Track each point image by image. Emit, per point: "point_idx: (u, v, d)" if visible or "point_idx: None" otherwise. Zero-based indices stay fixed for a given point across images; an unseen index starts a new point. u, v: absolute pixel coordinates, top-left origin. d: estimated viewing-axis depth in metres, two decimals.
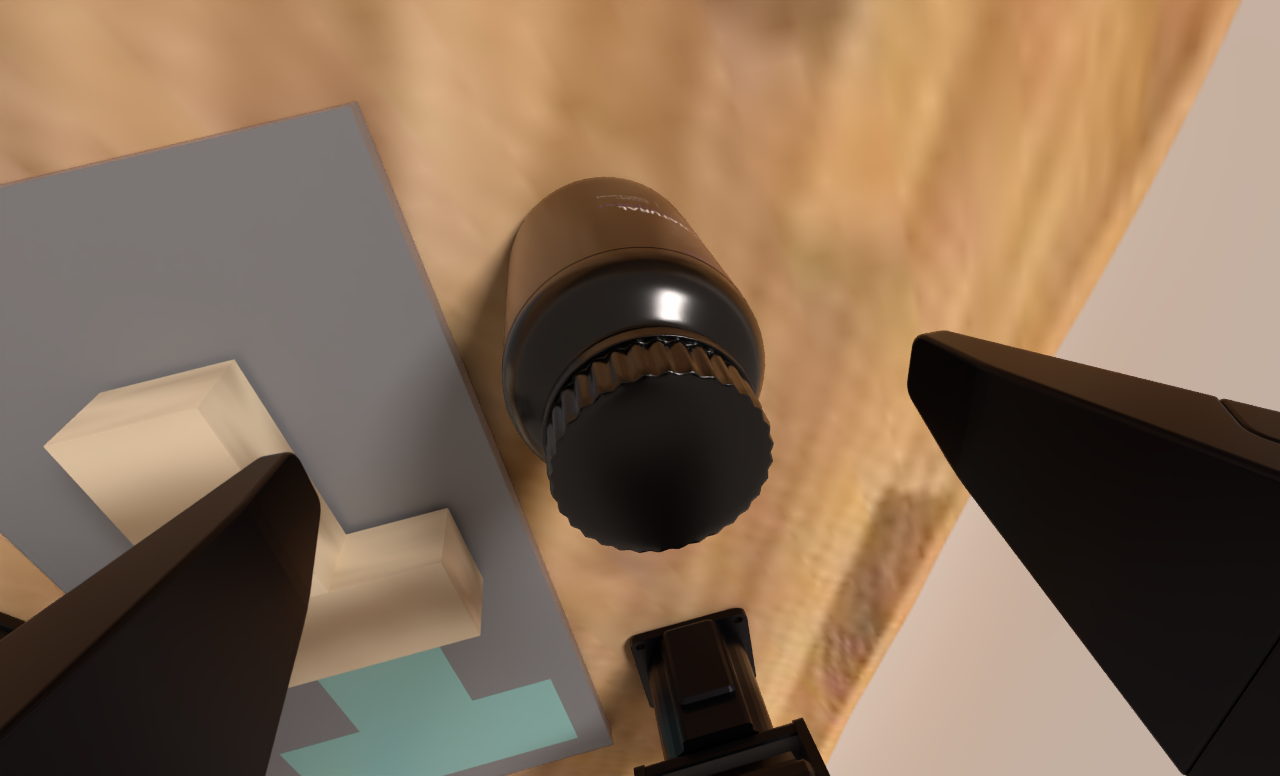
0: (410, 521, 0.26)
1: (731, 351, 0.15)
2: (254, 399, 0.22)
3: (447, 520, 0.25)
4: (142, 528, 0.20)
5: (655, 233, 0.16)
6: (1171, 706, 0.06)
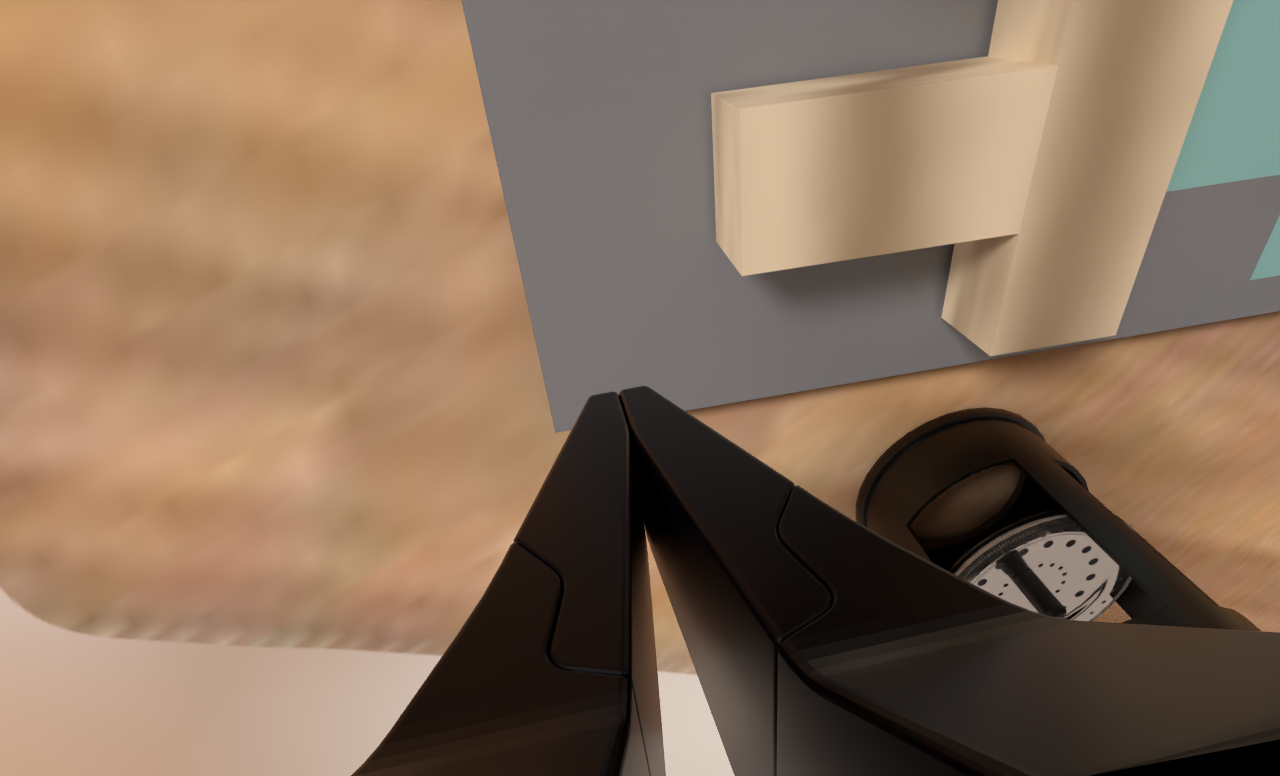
0: None
1: None
2: (762, 87, 0.18)
3: None
4: (865, 236, 0.18)
5: None
6: None
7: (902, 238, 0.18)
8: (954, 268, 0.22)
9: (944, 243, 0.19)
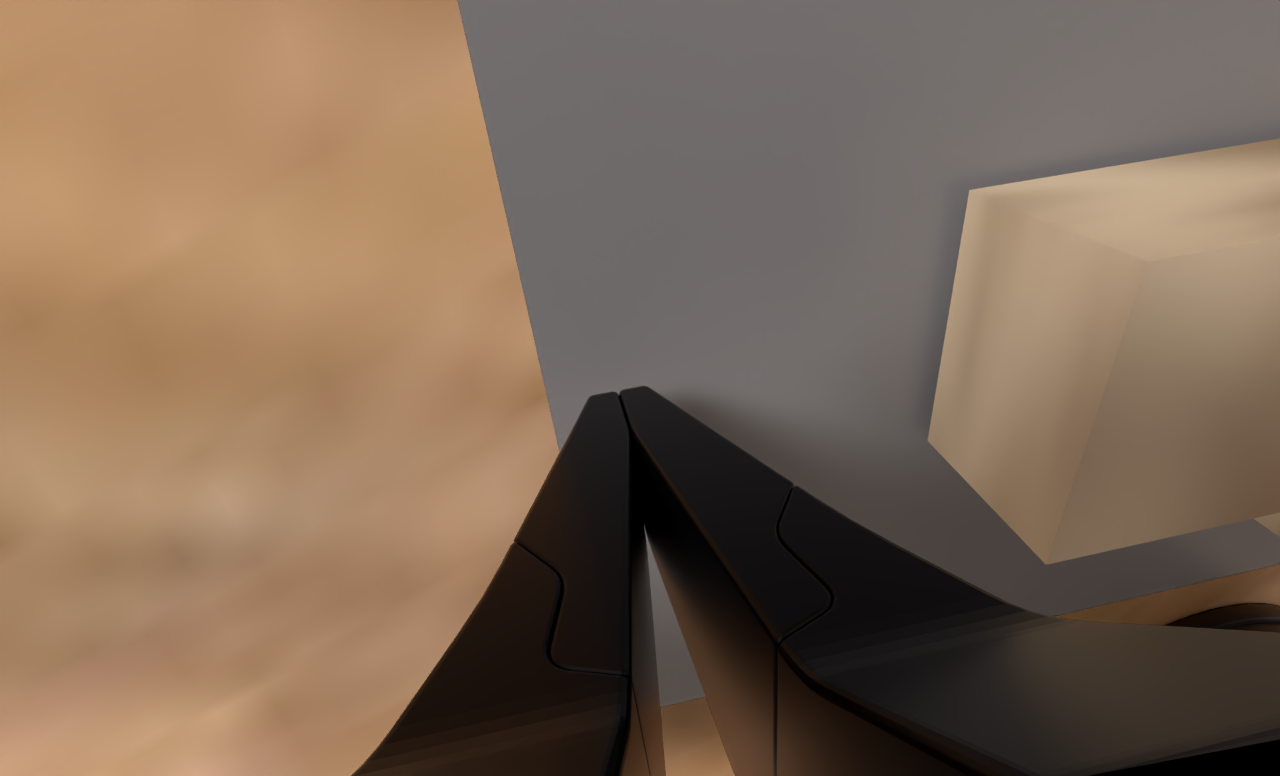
0: None
1: None
2: (1078, 178, 0.09)
3: None
4: None
5: None
6: None
7: None
8: None
9: None
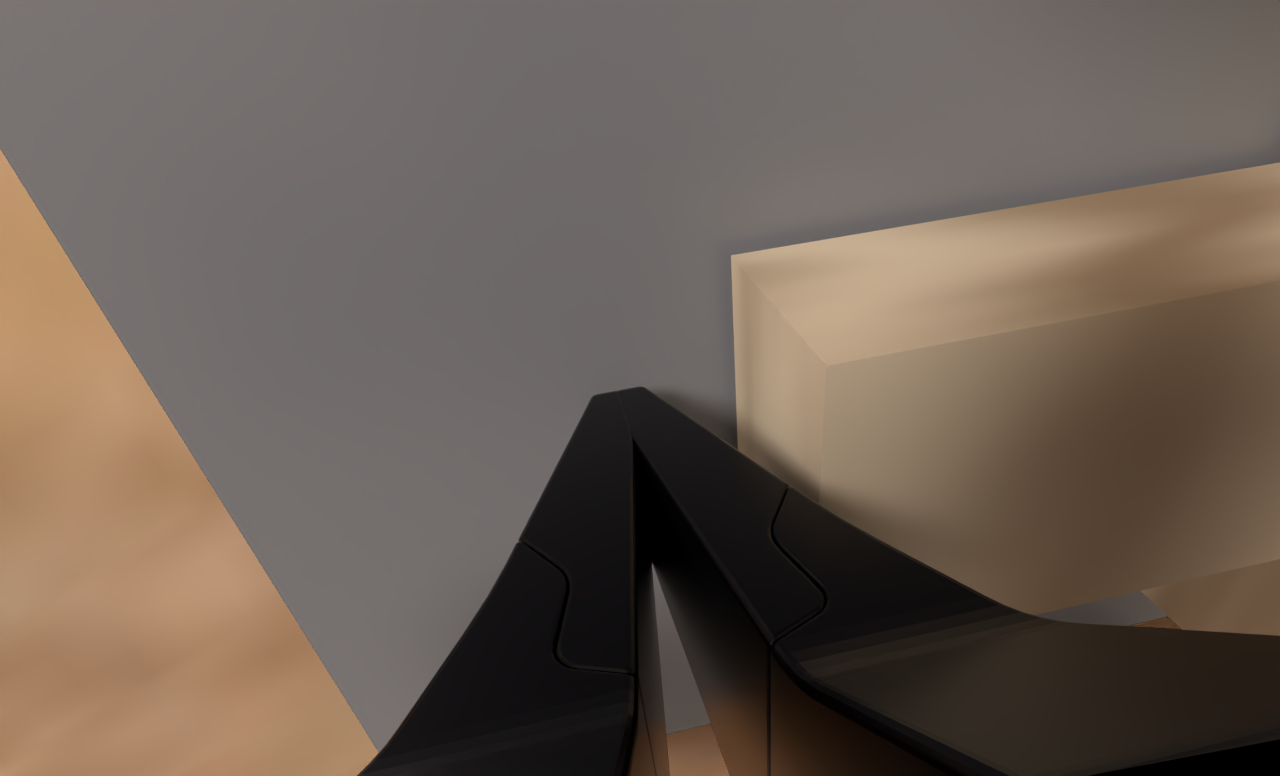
0: None
1: None
2: (846, 244, 0.08)
3: None
4: (1086, 573, 0.08)
5: None
6: None
7: (1161, 568, 0.08)
8: None
9: (1242, 566, 0.09)
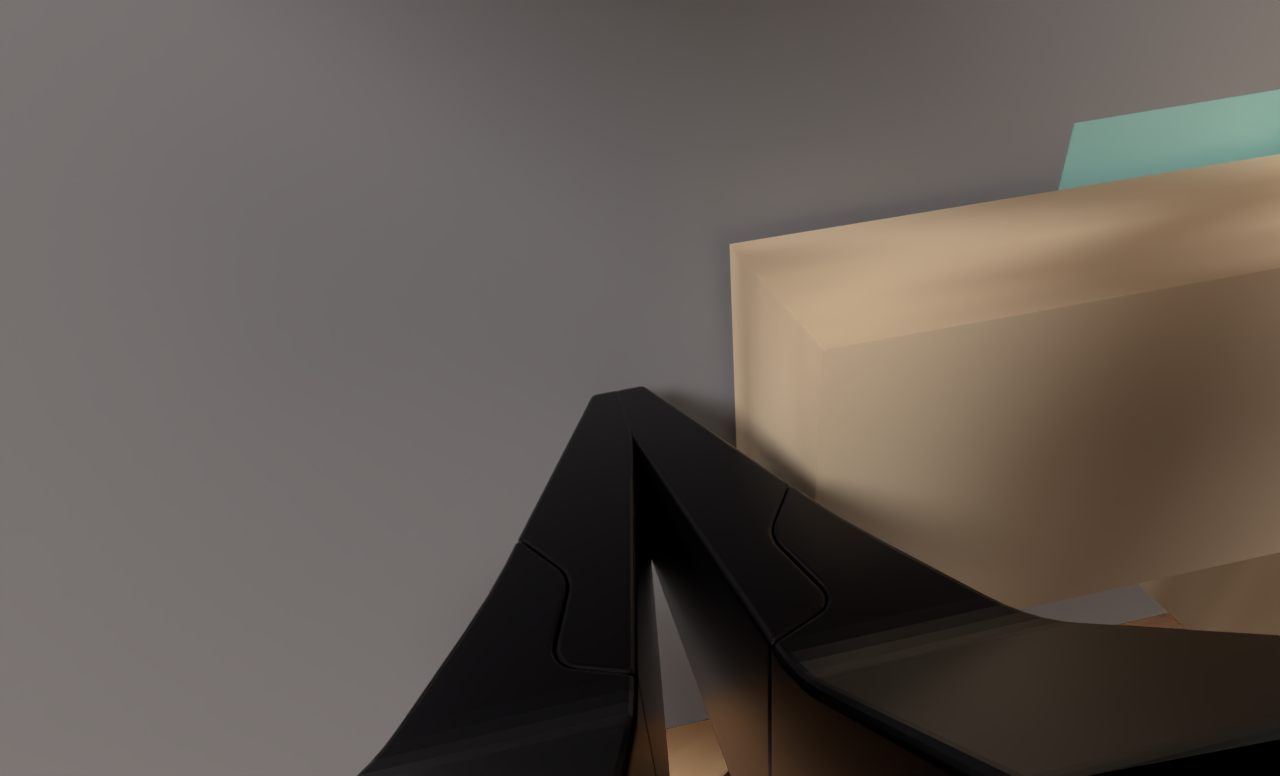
0: None
1: None
2: (846, 233, 0.08)
3: None
4: (1085, 564, 0.08)
5: None
6: None
7: (1161, 560, 0.08)
8: None
9: (1241, 559, 0.09)
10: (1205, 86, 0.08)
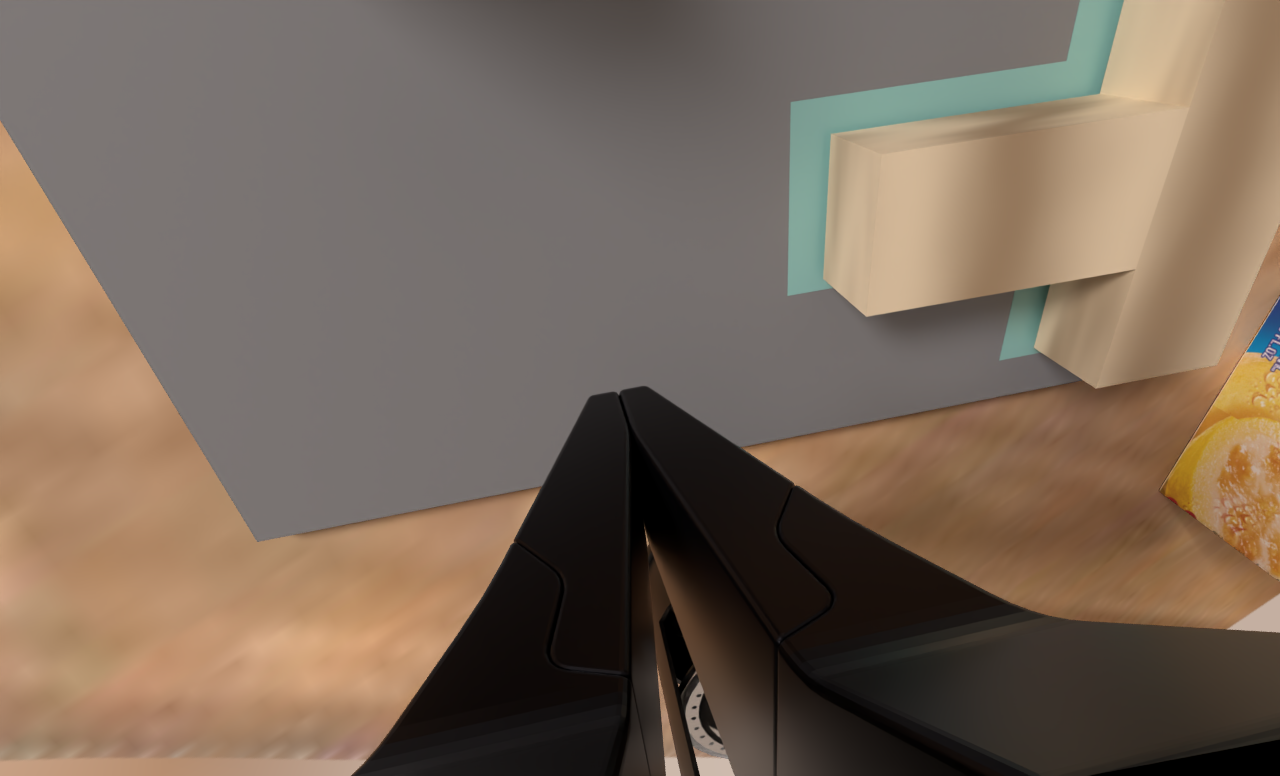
0: None
1: None
2: (883, 128, 0.18)
3: None
4: (989, 275, 0.18)
5: None
6: None
7: (1024, 276, 0.18)
8: (1051, 300, 0.22)
9: (1064, 281, 0.19)
10: (852, 85, 0.18)
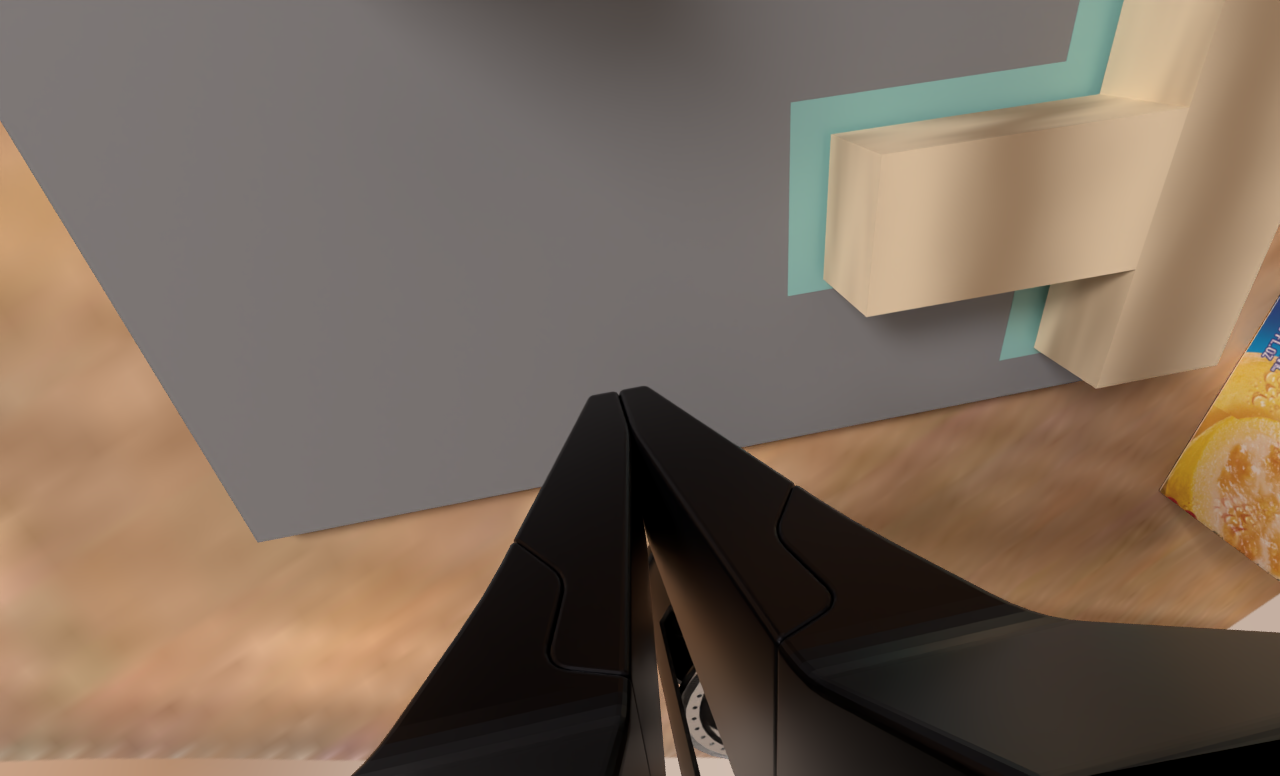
0: None
1: None
2: (883, 128, 0.18)
3: None
4: (989, 275, 0.18)
5: None
6: None
7: (1024, 277, 0.18)
8: (1051, 300, 0.22)
9: (1063, 281, 0.19)
10: (853, 85, 0.18)
